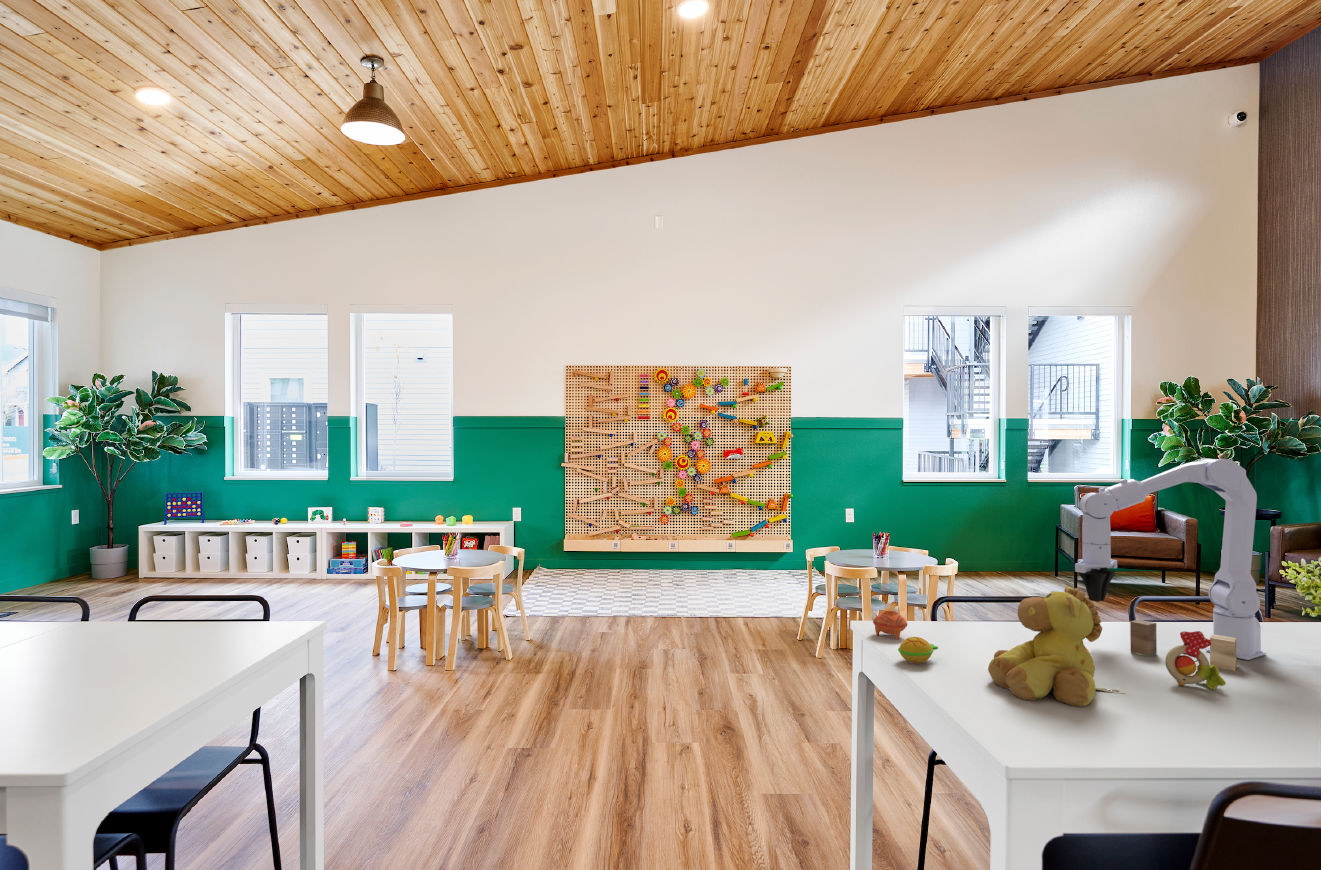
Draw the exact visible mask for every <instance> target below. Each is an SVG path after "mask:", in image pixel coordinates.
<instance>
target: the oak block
mask: <svg viewBox="0 0 1321 870" xmlns="http://www.w3.org/2000/svg"><path fill="white" fill-rule="evenodd" d="M1209 640H1211V645H1210V646H1209V648H1210V652H1209V665H1210V666H1211V665H1215V666H1217V668H1218V669H1223V670H1228V671H1229V670H1230V671H1236V669H1237V666H1238V658H1237V638H1232V637H1226V636H1220V635H1213V634H1211V636H1210V637H1209Z"/></svg>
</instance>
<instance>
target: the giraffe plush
mask: <svg viewBox="0 0 1321 870" xmlns="http://www.w3.org/2000/svg"><path fill="white" fill-rule="evenodd" d="M1063 590H1064V591H1051V592H1049V593H1047V594H1046V595H1044V596H1043V597H1040V596H1031V597H1027V598H1024V599H1022V600H1021V601H1020V603H1019V605H1018V607H1017V617H1018V620H1019V622H1020V623H1021V625H1022V626H1023V627H1024V628H1026V629H1028V630H1029V631H1033V632H1038V633H1037V634H1035V636H1034V637H1033V638H1032V639H1031V640H1028V641H1025V642H1024V643H1022V644H1018V645H1016V646H1014V647H1013V648H1010V649H1009V650H1006V649H999V650H997V651H996V652H994V654H993V658H992V660H990V661H989V665H988V669H987V671H988V673H989V675H990V677H991V679H992V681H993V682H994V683H995V684H996V685H998V686H999V685H1000V687H1001V686H1002V688H1003V689H1004V688H1005V689H1006V688H1010V689H1009V690H1010V691H1011V693H1012V694H1013V695H1014V696H1016V697H1018V698H1019V697H1020V699H1021V698H1022V700H1024V699H1025V701H1028V700H1029V701H1030V702H1031V701H1032V702H1033V701H1035V700H1034V699H1036V700H1038V699H1039V698H1040V699H1042V698H1045V697H1046V696H1047V695H1048V694H1049V693H1050V692H1051V691H1052V688H1053V696H1054V697H1055V699H1056V700H1057V701H1060V702H1062V703H1064V704H1065V703H1066V705H1069V706H1071V707H1080V708H1081V707H1086V706H1088V705H1089V704H1090V703H1091V702H1092V701H1093V699H1094V697H1095V695H1096V690H1097V691H1101V692H1104V693H1105V692H1106V693H1110V692H1112V693H1111V694H1120V695H1125V694H1126V692H1125V691H1124V690H1123V689H1122V688H1109V689H1110V690H1107V689H1108V688H1106V687H1096V680H1095V679H1094V676H1095V670H1096V666H1095V662H1094V659H1093V656H1092V655H1091V653H1090V651H1089V650H1088V649H1087V647H1086V646H1085V644H1084V641H1083V640H1084V639H1087V640H1088V642H1090V643H1093V642H1095V641H1097V640H1098V639H1099V638H1100V636H1101V634H1102V631H1103V627H1102V625H1101V623H1102V620H1101V615H1099V612H1098V610H1097V608H1096V607H1095V603H1094V601H1091V600H1089V598H1086V594H1085V592H1084V591H1082V590H1081V589H1080V588H1079V587H1074V588H1073V587H1071V586H1065V587H1064V589H1063ZM1111 690H1112V691H1111Z"/></svg>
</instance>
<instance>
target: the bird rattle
mask: <svg viewBox="0 0 1321 870" xmlns="http://www.w3.org/2000/svg"><path fill="white" fill-rule="evenodd" d="M1179 635H1180V638H1181V641H1182V642H1183V644H1182V645H1177V646H1174V647H1173V648H1171V649H1169V651H1168V652H1167V653H1166V655H1165V660H1164V661H1165V662H1164V663H1165V667H1166V669H1167V672H1168V673H1169V675H1171V677H1172V678H1173V679H1174V680H1176V682H1177V685H1179V686H1181V687H1184V686H1186V685H1195V684H1199V683H1202V682H1205V681H1206V685H1207V688H1209V689H1210V690H1212V691H1213V690H1216V689H1217V688H1218V686H1220V687H1223V686H1225V685H1226V684H1227V682H1226V681H1225V679H1224V678H1223V677H1222V676H1221V675H1220V672H1219V668H1217V666H1215V665H1211V666H1210V660H1209V659H1208V657H1207V656H1206V655H1205V653H1204V652H1203V651H1201V650H1205V649H1207V648H1209V647H1210V645H1211V640H1210V638H1207V637H1205V635H1204V633H1203V632H1202V631H1200V630H1198V631H1191V632H1190V631H1181V632H1180V633H1179ZM1193 658H1194V659H1196V660H1194V659H1193ZM1196 662H1198V664H1197V663H1196Z"/></svg>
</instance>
